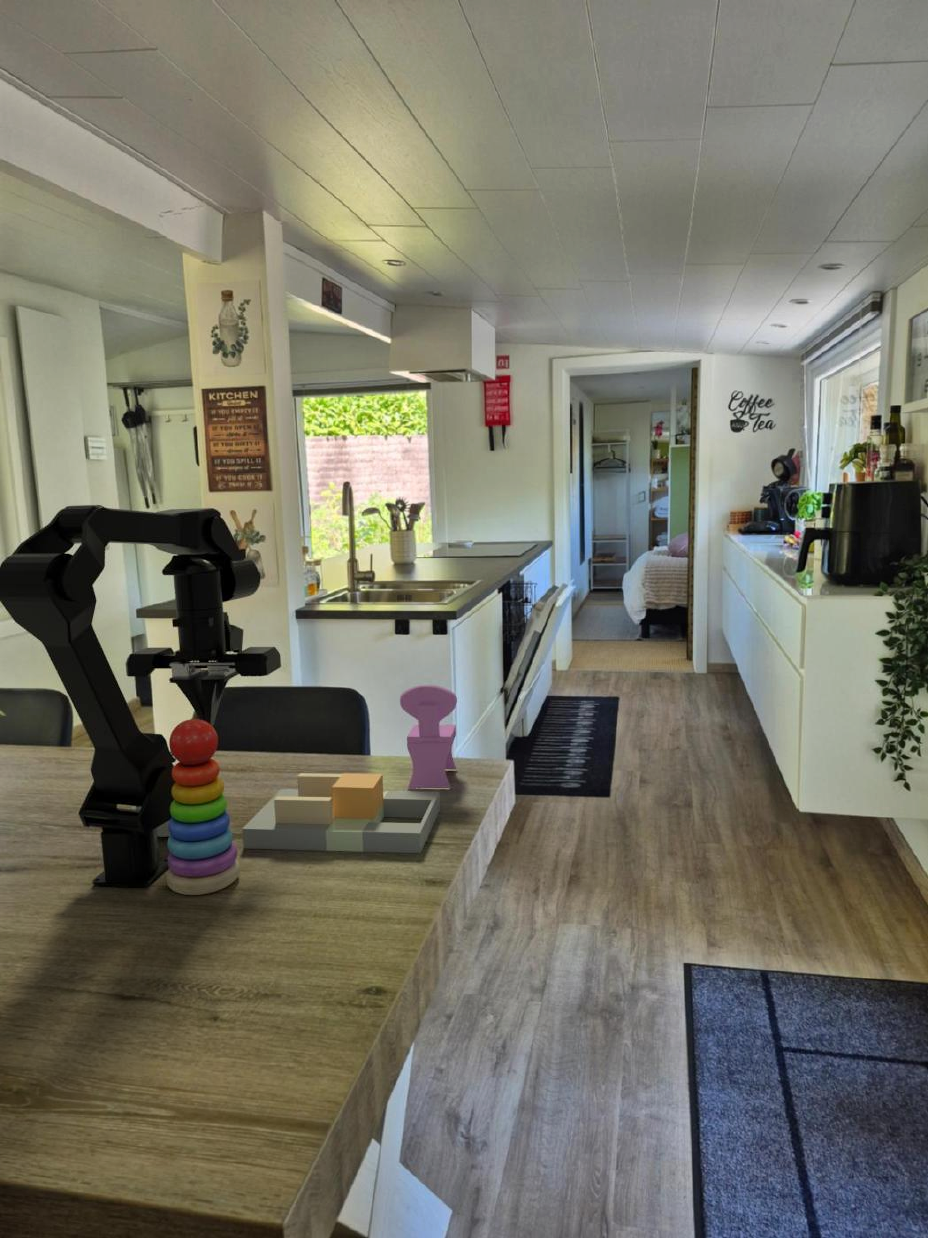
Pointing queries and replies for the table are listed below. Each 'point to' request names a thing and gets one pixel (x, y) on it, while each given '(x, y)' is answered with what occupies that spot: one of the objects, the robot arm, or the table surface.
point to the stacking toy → (198, 815)
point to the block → (357, 796)
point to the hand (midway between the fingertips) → (209, 726)
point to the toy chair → (430, 735)
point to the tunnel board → (339, 821)
